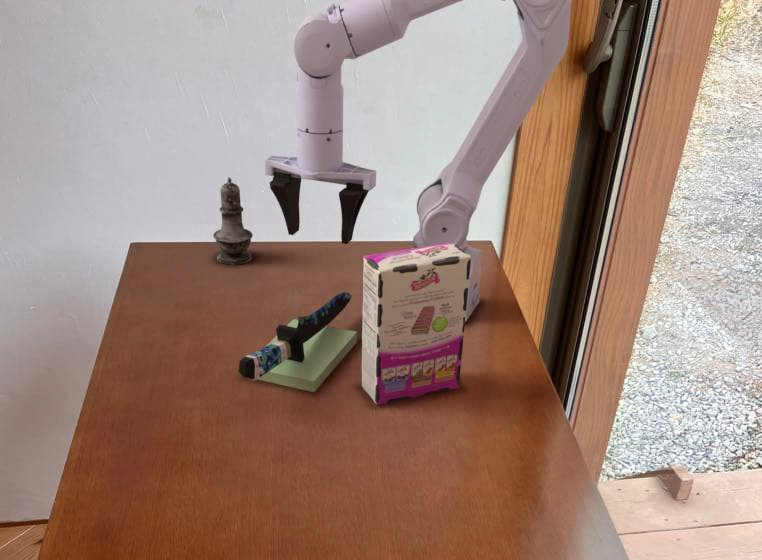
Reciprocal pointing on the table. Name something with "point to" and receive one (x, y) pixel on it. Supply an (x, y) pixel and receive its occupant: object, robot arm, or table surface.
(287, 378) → the cutting board
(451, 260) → the candy bar box
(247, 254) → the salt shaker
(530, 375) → the table surface
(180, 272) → the table surface
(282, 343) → the knife
